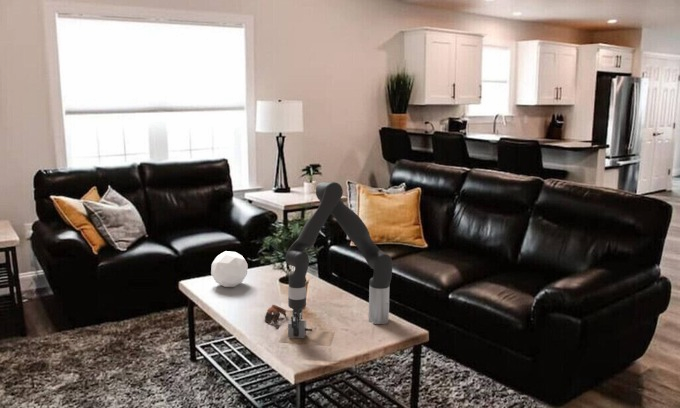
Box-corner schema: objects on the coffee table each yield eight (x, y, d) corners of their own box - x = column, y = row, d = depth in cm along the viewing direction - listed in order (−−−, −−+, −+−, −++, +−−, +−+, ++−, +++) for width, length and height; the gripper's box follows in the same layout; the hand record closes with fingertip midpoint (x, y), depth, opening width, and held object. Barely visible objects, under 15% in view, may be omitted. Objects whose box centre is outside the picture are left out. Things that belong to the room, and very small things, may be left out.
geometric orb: (239, 298, 313) (252, 275, 301) (203, 288, 307) (215, 265, 295) (242, 272, 327) (254, 249, 316) (208, 262, 321) (219, 239, 309)
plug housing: (313, 334, 249) (313, 321, 247) (311, 338, 244) (311, 325, 243) (290, 332, 250) (290, 319, 248) (288, 337, 245) (288, 324, 244)
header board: (334, 335, 253) (334, 324, 252) (330, 349, 239) (330, 338, 238) (285, 331, 255) (285, 321, 254) (278, 345, 242) (278, 334, 241)
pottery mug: (262, 318, 271) (269, 302, 272) (280, 326, 272) (287, 310, 274) (264, 322, 259) (272, 305, 260) (283, 330, 261) (291, 313, 262)
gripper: (302, 302, 236) (302, 341, 240) (308, 290, 250) (308, 327, 253) (284, 301, 237) (285, 340, 240) (292, 289, 251) (292, 326, 254)
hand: (297, 333), depth 247 cm, fingers closed on plug housing, 4 cm apart
